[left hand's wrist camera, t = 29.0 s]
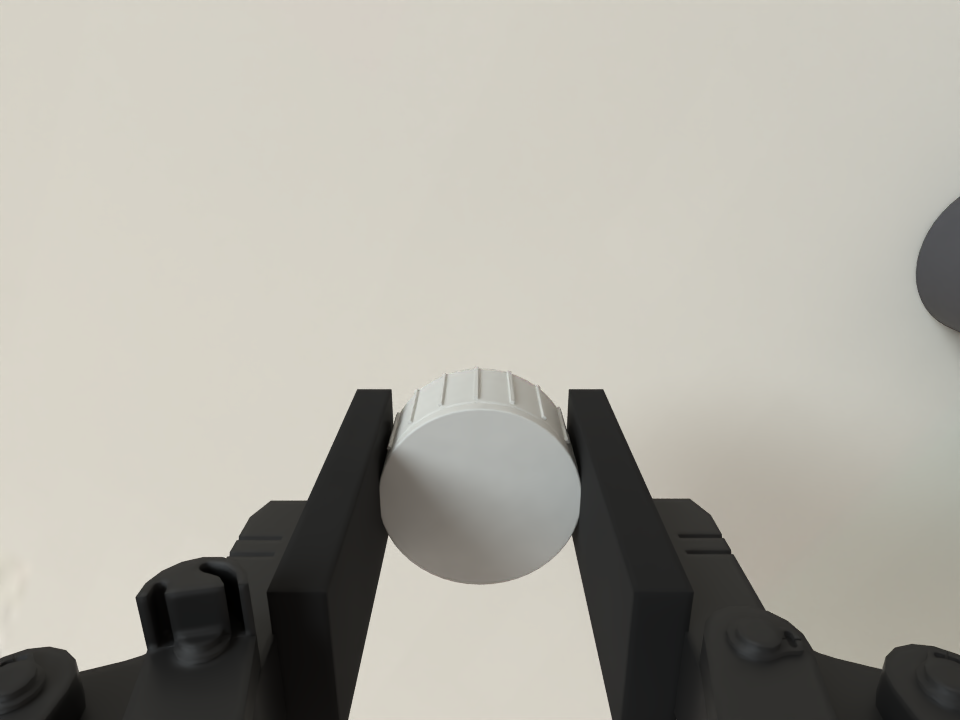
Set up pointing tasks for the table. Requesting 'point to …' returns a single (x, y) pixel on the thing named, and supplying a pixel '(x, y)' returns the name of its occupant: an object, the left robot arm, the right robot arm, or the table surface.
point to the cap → (480, 478)
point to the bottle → (941, 268)
